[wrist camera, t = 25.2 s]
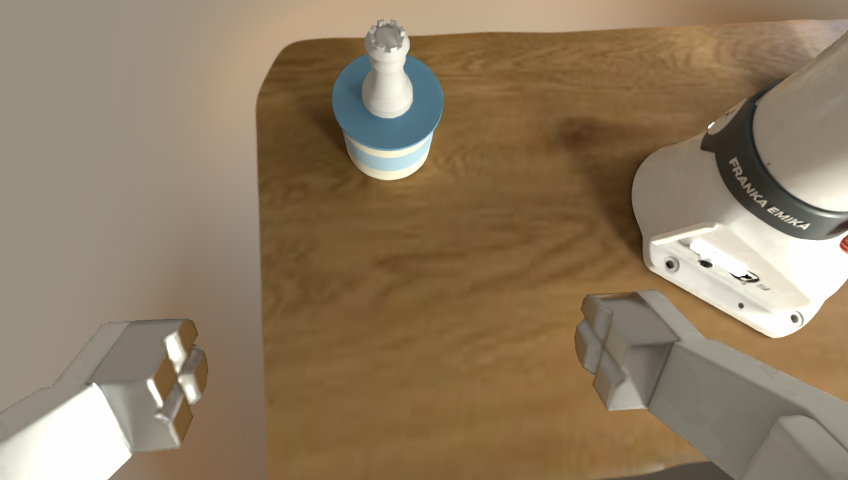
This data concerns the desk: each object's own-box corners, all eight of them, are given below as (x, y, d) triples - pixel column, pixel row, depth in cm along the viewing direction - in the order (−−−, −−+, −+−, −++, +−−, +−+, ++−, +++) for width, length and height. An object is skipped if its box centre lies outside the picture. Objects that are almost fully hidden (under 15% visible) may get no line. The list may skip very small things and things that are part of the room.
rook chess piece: (422, 93, 38) (430, 28, 31) (394, 130, 37) (395, 72, 30) (381, 68, 39) (378, -4, 31) (351, 103, 38) (342, 39, 30)
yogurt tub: (453, 140, 46) (465, 97, 39) (391, 203, 44) (391, 171, 36) (385, 84, 48) (384, 31, 40) (321, 143, 45) (307, 99, 37)
